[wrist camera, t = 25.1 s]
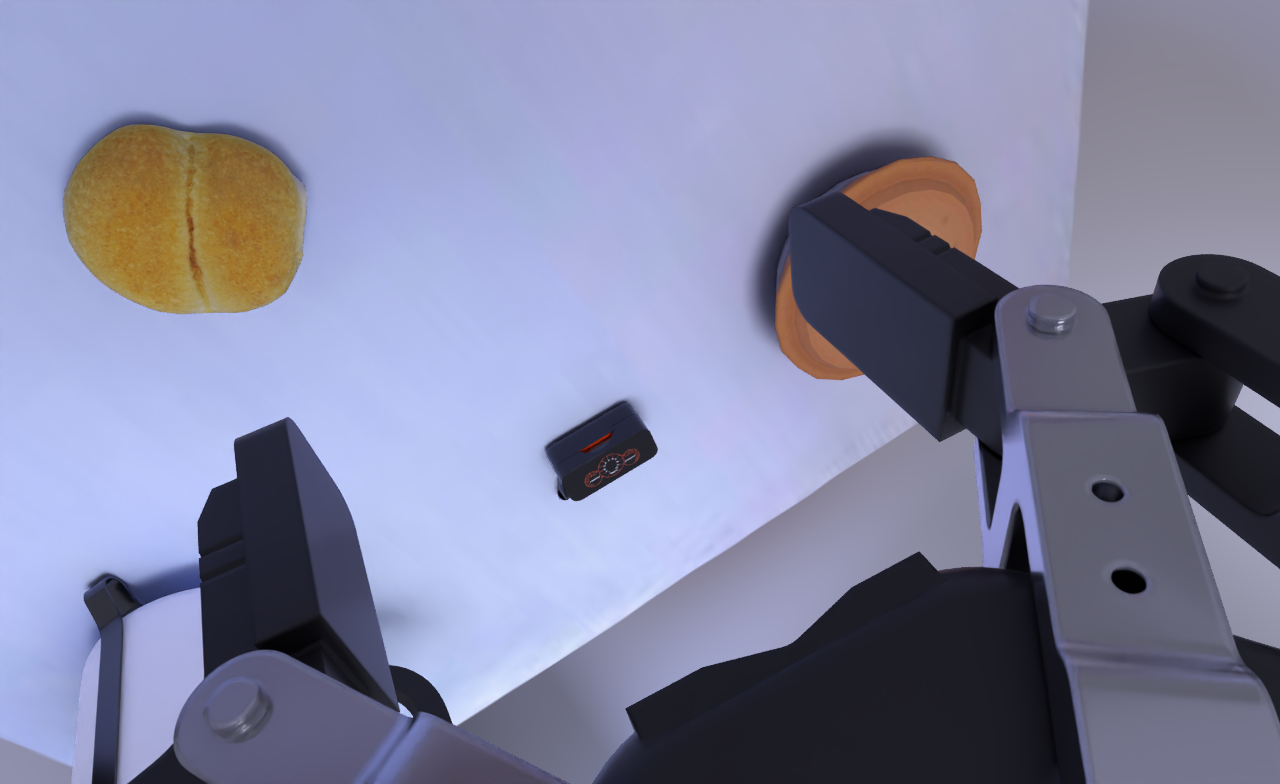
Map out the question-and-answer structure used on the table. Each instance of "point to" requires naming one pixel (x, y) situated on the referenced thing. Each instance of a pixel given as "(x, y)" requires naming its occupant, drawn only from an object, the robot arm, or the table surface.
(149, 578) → the table surface
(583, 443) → the dark boxy piece
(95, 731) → the coffee press
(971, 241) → the pie
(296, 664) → the robot arm
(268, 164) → the bread roll
